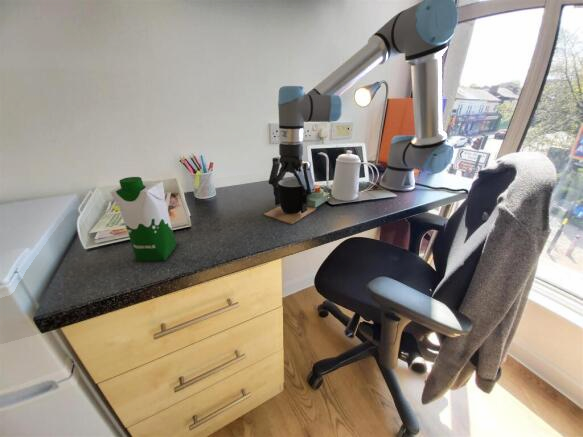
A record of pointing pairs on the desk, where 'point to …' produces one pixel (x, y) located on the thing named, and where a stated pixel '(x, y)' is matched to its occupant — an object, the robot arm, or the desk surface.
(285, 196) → the mug
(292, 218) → the coaster
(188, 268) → the desk surface
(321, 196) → the push button box
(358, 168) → the coffeepot
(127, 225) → the milk carton
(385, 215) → the desk surface
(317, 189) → the switch
